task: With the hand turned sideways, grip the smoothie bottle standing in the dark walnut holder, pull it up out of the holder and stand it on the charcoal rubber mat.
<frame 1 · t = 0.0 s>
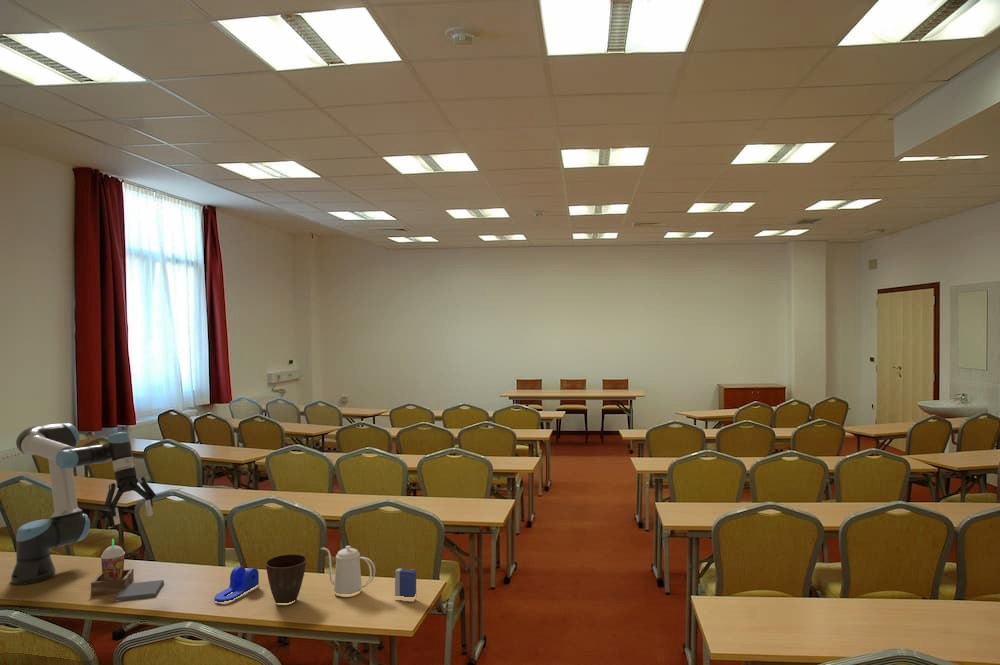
hand: (134, 519, 252), 28 cm above the table, tool tilted 20°, fingers open, 13 cm apart
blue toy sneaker: (234, 595, 245), on the table
mat: (140, 592, 247), on the table
smoothie: (112, 588, 252), resting in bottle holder
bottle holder: (112, 587, 252), on the table
coffeepot: (346, 593, 247), on the table
plant pot: (286, 602, 238), on the table
walkman: (405, 600, 239), on the table
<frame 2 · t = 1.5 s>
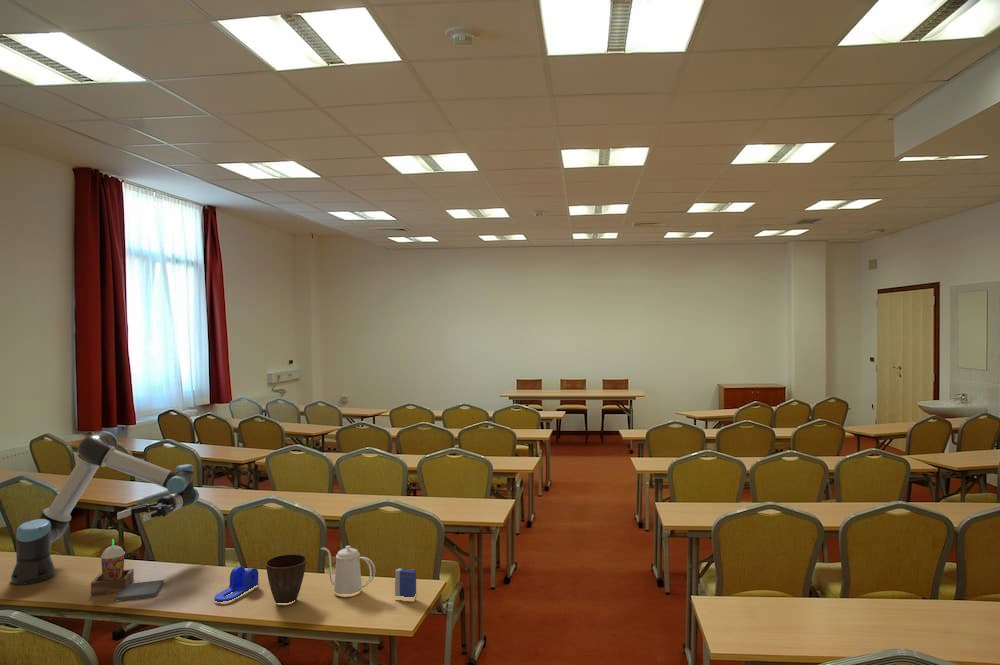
hand: (130, 517, 261), 26 cm above the table, tool horizontal, fingers open, 13 cm apart
nothing on the table moved.
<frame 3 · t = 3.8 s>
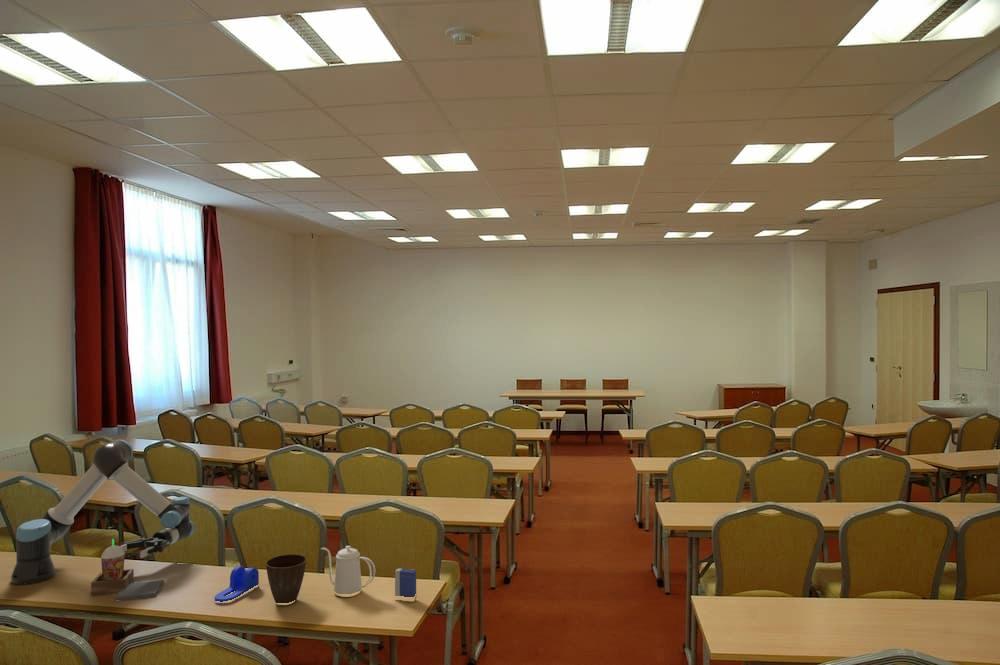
hand: (126, 553, 258), 12 cm above the table, tool horizontal, fingers open, 13 cm apart
nothing on the table moved.
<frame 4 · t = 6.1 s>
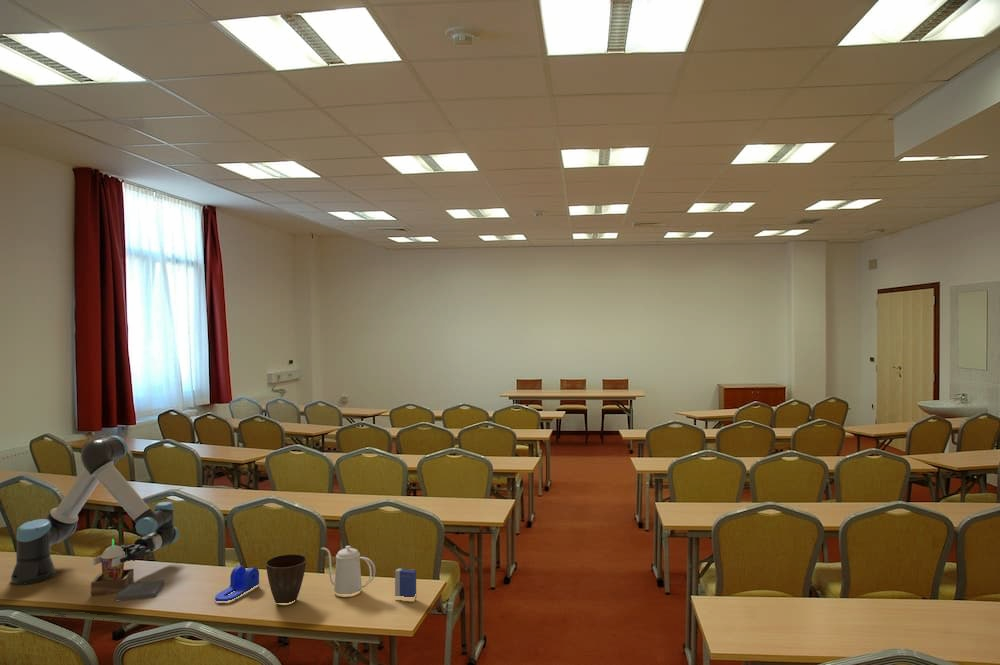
hand: (103, 562, 247), 12 cm above the table, tool horizontal, fingers closed on smoothie, 8 cm apart
smoothie: (112, 588, 252), resting in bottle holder, touching gripper
everything else where it was.
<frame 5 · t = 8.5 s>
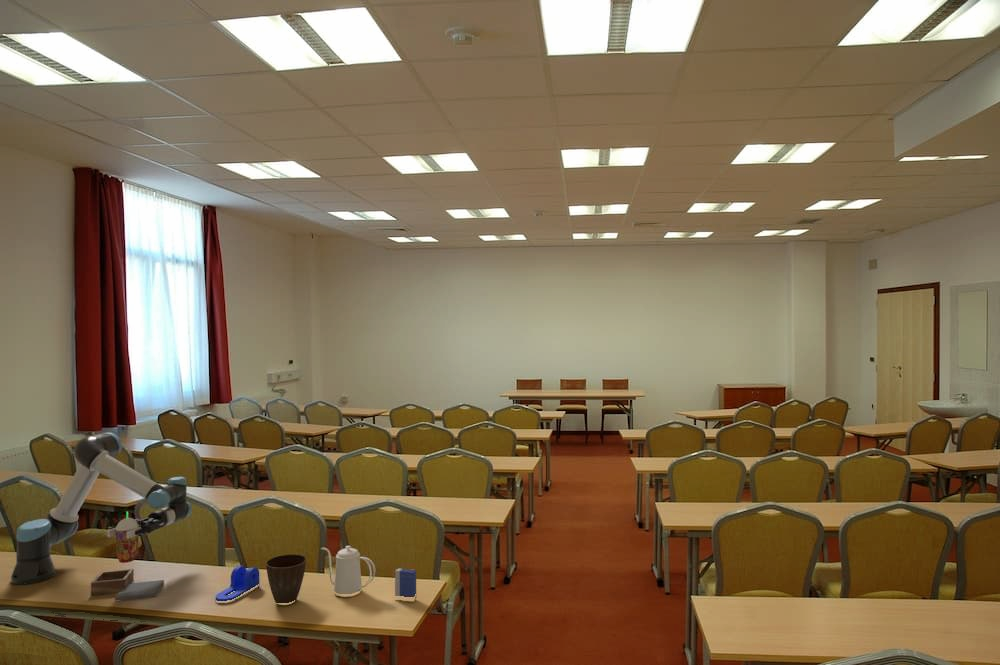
hand: (117, 534, 246), 24 cm above the table, tool horizontal, fingers closed on smoothie, 8 cm apart
smoothie: (127, 561, 250), point 12 cm above the table, touching gripper
everything else where it was.
when the fingers open (15 cm above the table, at t = 11.1 s): smoothie drops 1 cm, resting on mat.
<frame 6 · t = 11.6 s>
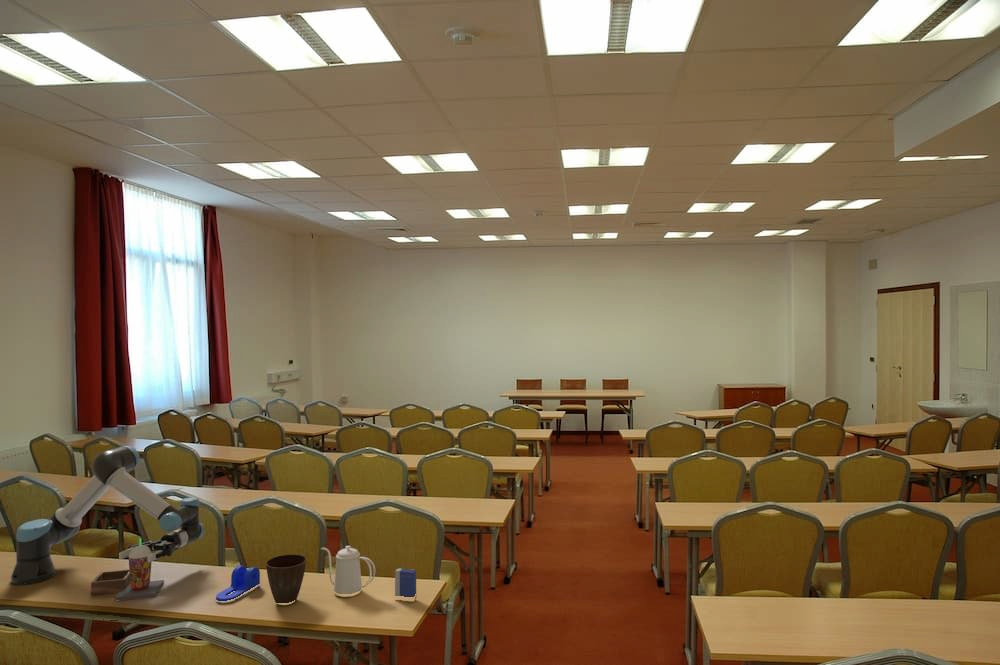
hand: (133, 557, 244), 15 cm above the table, tool horizontal, fingers open, 13 cm apart
smoothie: (140, 588, 248), point 1 cm above the table, touching mat
everything else where it was.
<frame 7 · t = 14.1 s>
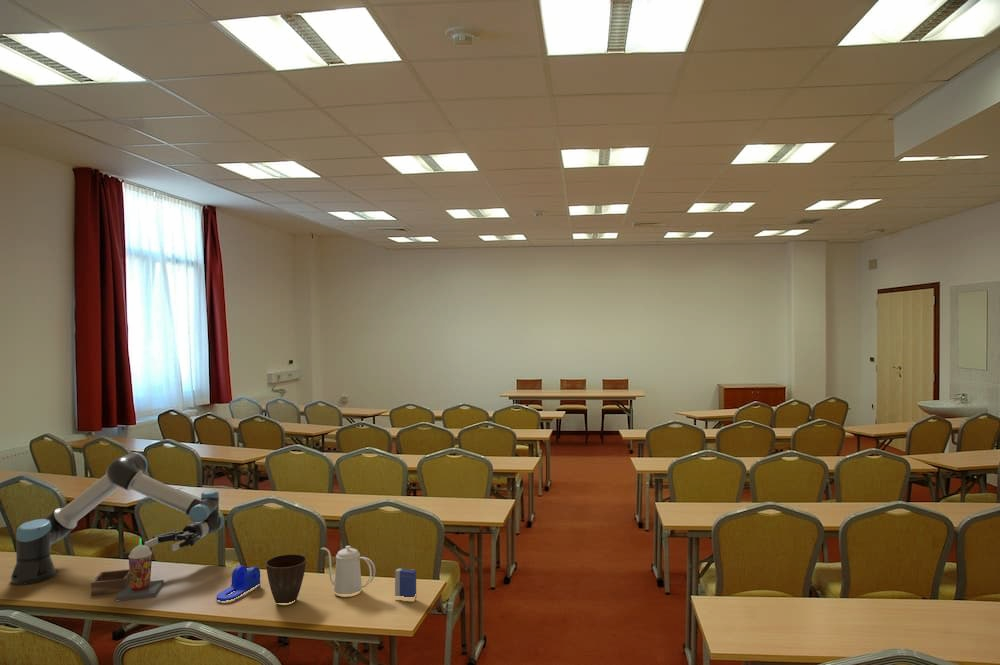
hand: (158, 546, 257), 15 cm above the table, tool horizontal, fingers open, 13 cm apart
nothing on the table moved.
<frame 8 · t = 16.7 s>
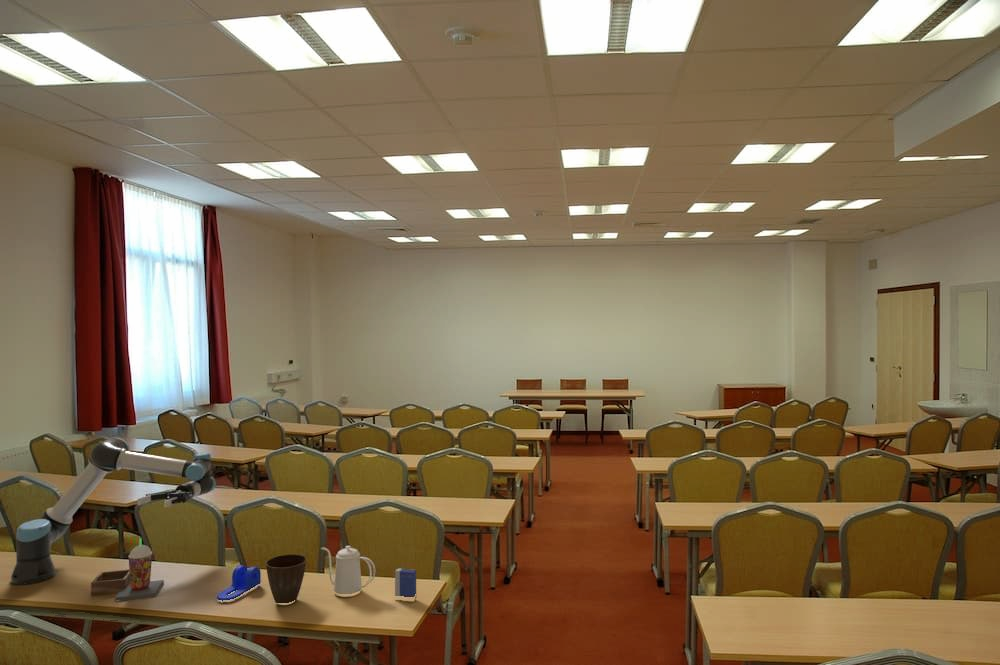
hand: (151, 503, 262), 32 cm above the table, tool horizontal, fingers open, 13 cm apart
at the end: smoothie inside the target area on the mat (0.1 cm from its centre), point 1.3 cm above the mat's base; smoothie tilted 0°; the gripper is holding nothing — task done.
